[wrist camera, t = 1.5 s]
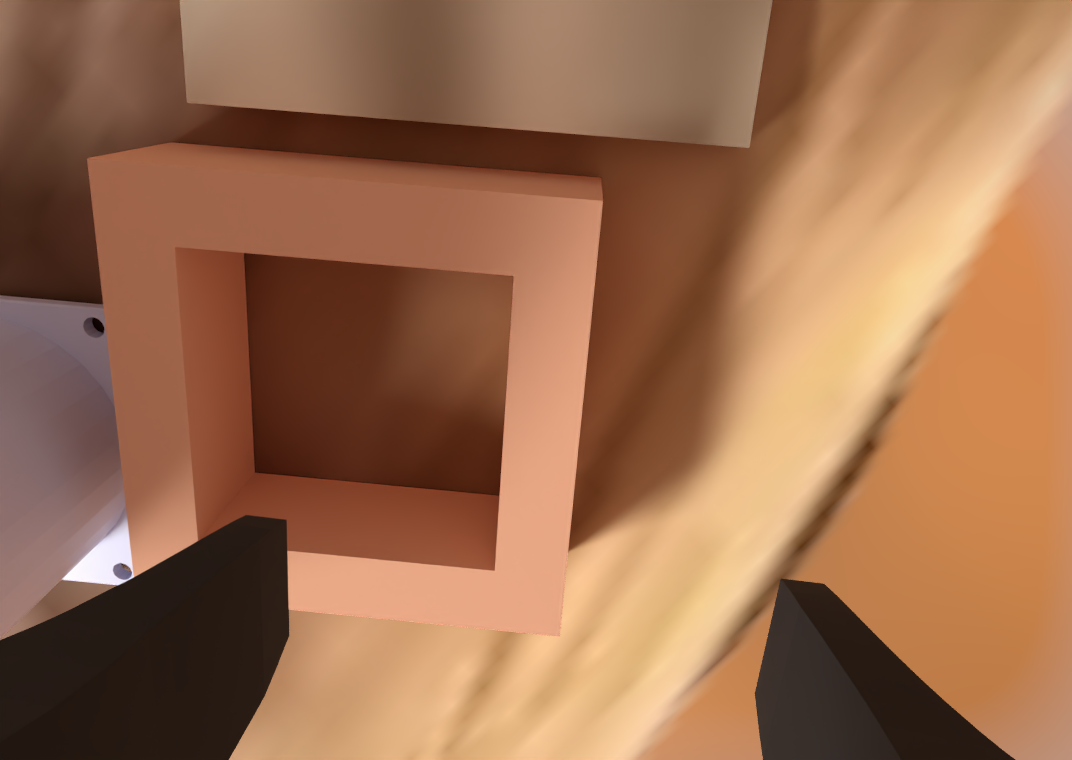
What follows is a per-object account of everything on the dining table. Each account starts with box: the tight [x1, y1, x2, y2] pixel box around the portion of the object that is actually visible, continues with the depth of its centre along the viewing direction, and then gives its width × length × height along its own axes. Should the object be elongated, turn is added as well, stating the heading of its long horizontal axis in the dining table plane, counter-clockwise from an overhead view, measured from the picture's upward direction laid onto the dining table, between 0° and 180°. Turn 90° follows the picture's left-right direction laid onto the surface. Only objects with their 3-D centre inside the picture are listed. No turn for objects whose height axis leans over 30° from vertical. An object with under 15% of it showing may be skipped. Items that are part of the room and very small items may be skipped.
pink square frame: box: [87, 142, 603, 637], centre depth 20 cm, size 10×10×4 cm
